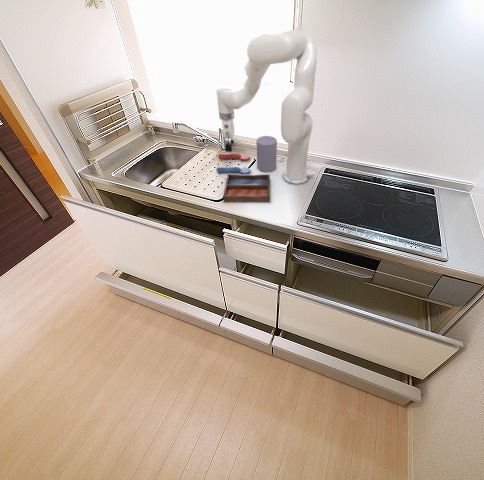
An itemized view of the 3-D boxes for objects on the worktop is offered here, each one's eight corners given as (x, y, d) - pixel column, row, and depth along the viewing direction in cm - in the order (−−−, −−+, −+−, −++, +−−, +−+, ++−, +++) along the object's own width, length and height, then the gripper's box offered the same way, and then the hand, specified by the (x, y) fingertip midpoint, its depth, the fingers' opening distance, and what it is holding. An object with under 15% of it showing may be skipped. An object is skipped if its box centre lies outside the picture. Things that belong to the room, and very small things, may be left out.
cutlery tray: (269, 180, 132) (269, 174, 130) (269, 202, 119) (269, 196, 117) (228, 180, 132) (227, 174, 130) (224, 202, 119) (223, 196, 117)
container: (272, 173, 137) (273, 146, 126) (254, 170, 139) (253, 143, 128) (278, 164, 144) (279, 137, 133) (261, 161, 146) (260, 134, 135)
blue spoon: (250, 169, 139) (250, 165, 137) (250, 175, 135) (249, 170, 133) (217, 169, 139) (216, 164, 137) (216, 175, 135) (215, 170, 133)
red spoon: (250, 156, 149) (249, 151, 147) (249, 161, 145) (249, 156, 143) (219, 156, 149) (218, 151, 147) (217, 161, 145) (217, 156, 143)
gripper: (232, 122, 124) (235, 155, 137) (235, 108, 136) (237, 140, 149) (216, 121, 124) (220, 154, 136) (221, 108, 136) (224, 139, 148)
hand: (229, 147), depth 142 cm, fingers open, 9 cm apart
